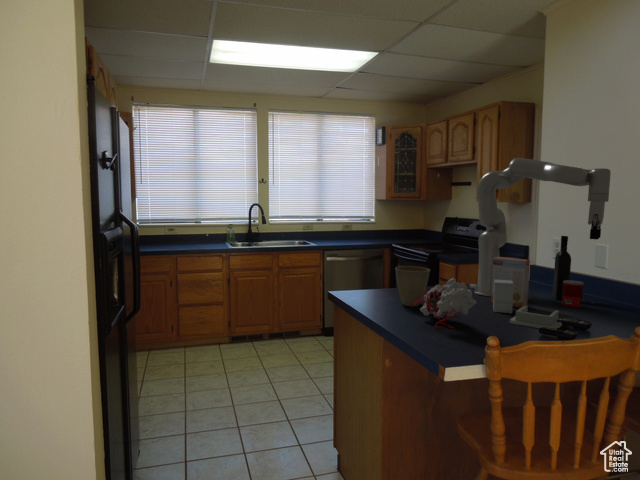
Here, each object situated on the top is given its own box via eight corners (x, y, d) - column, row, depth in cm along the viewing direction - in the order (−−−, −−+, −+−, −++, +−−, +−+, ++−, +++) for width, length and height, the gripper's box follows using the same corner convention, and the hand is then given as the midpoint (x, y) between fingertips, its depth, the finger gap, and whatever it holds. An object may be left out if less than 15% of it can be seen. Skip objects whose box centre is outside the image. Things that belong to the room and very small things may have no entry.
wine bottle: (564, 297, 220) (568, 235, 218) (569, 300, 215) (573, 236, 212) (551, 297, 221) (555, 235, 218) (556, 300, 215) (560, 236, 213)
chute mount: (509, 323, 174) (510, 310, 173) (519, 315, 185) (520, 304, 184) (555, 331, 164) (556, 318, 164) (563, 323, 175) (564, 311, 175)
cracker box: (527, 306, 201) (530, 259, 199) (522, 309, 197) (525, 260, 195) (496, 301, 211) (498, 256, 209) (490, 303, 206) (493, 257, 204)
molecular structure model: (416, 345, 169) (465, 320, 151) (395, 299, 175) (440, 270, 157) (450, 334, 181) (499, 309, 163) (429, 291, 187) (474, 263, 169)
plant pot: (401, 309, 192) (403, 271, 191) (389, 301, 207) (390, 266, 205) (434, 308, 195) (436, 271, 194) (420, 300, 210) (421, 265, 208)
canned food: (584, 308, 199) (586, 283, 198) (564, 307, 201) (566, 282, 199) (578, 304, 206) (580, 280, 205) (559, 303, 208) (560, 279, 207)
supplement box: (511, 309, 195) (512, 280, 194) (512, 313, 188) (514, 283, 187) (492, 308, 198) (494, 279, 196) (493, 312, 191) (494, 282, 189)
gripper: (589, 198, 203) (586, 236, 205) (585, 197, 189) (582, 239, 190) (609, 198, 199) (606, 237, 200) (607, 198, 185) (604, 240, 186)
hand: (595, 238), depth 195 cm, fingers open, 9 cm apart
